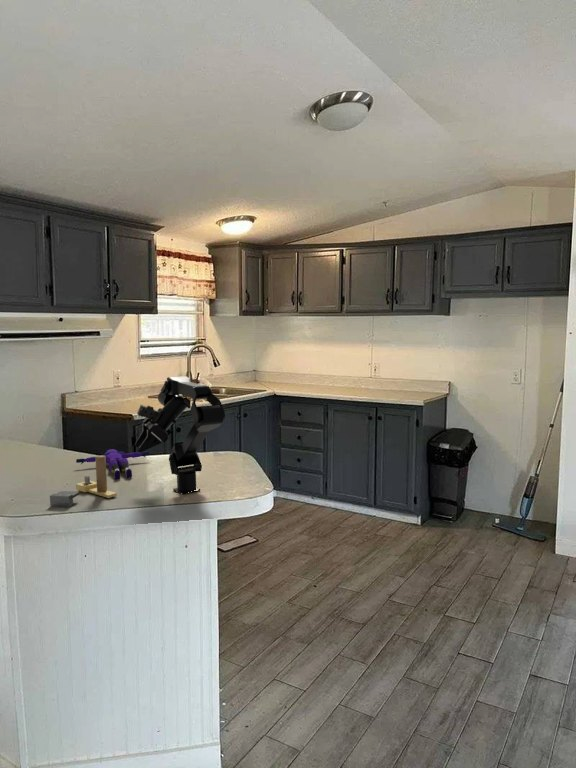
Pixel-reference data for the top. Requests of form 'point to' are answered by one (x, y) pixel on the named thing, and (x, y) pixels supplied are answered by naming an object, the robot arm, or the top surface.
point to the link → (98, 480)
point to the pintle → (87, 481)
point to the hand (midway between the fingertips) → (137, 449)
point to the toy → (116, 461)
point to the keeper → (63, 498)
